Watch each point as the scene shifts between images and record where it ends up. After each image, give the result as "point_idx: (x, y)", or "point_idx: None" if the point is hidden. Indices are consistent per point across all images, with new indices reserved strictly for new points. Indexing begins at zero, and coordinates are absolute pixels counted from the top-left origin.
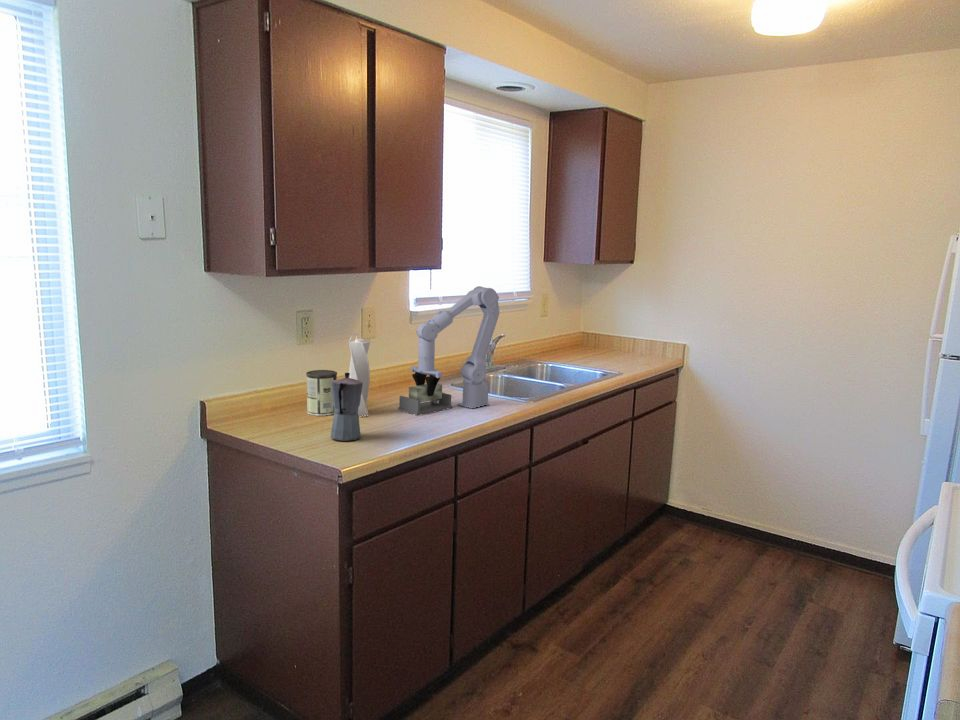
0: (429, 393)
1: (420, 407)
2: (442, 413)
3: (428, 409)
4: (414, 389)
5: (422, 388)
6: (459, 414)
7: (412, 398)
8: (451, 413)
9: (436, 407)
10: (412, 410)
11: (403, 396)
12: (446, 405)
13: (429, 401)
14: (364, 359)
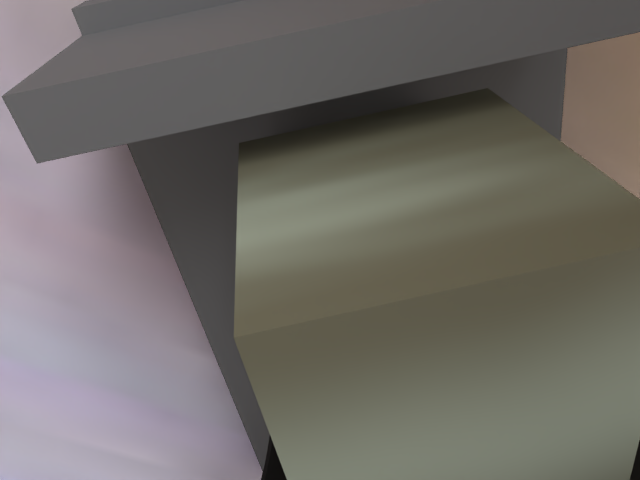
0: (266, 466)
1: None
2: (102, 341)
3: (210, 256)
4: (373, 281)
5: (285, 474)
6: (9, 447)
7: (390, 137)
8: (73, 407)
9: None
10: (224, 4)
11: (630, 15)
12: None
13: None
14: None
